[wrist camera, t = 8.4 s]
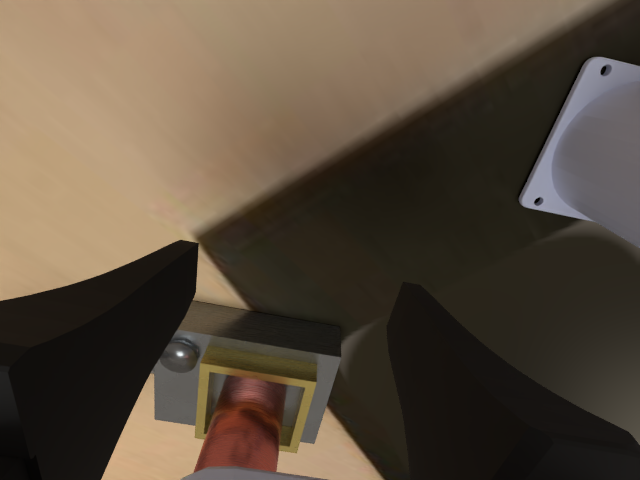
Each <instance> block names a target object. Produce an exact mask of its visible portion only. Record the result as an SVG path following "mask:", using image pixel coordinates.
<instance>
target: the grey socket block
mask: <svg viewBox="0 0 640 480" xmlns="http://www.w3.org/2000/svg"><path fill="white" fill-rule="evenodd" d="M340 360H341V340H340V327H338V326H332V325H326V324H321V323H315V322H309V321H304V320H298V319H293V318H287V317H281V316H276V315H270V314H264V313H259V312H253V311H247V310H242V309H236V308H230V307H225V306H219V305H214V304H208V303H202V302H197V301H192V302H191V305H190V307H189V309H188V311H187V314H186V316H185V318H184V319H183V321H182V323H181V324H180V326H179V328H178V329H177V331H176V333H175V334H174V336H173V337H172V339H171V341H170V342H169V344H168V345H167V347H166V349H165V350H164V352H163V354H162V355H161V357H160V358H159V360H158V362H157V363H156V365H155V366H154V368H153V370H152V371H151V373H152V374H154V388H155V420H161V421H168V422H174V423H181V424H188V425H194V426H196V427H195V438H198V439H205V437H206V434H207V431H208V428H209V425H210V422H211V419H212V416H213V413H214V410H215V407H216V404H217V401H218V398H219V395H220V392H221V390H222V387H223V384H224V381H225V380H226V378H227V377H228V376H229V375H232V376H238V377H244V378H250V379H256V380H262V381H269V382H275V383H281V384H284V386H285V389H286V400H285V408H284V415H283V423H282V431H281V439H280V447H279V451H285V452H291V453H297V450H298V447H299V443H300V442H306V443H312V444H314V443H315V440H316V437H317V434H318V430H319V427H320V424H321V421H322V418H323V414H324V411H325V408H326V405H327V402H328V398H329V395H330V392H331V389H332V386H333V382H334V379H335V376H336V373H337V370H338V366H339V363H340Z"/></svg>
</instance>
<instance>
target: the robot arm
mask: <svg viewBox="0 0 640 480" xmlns="http://www.w3.org/2000/svg"><path fill="white" fill-rule="evenodd" d="M603 66H606V71H605V73H604V74H603V75H601V73H600V71H601V69H602V67H603ZM538 197H540V200H539V201H538V202H537V203H534V201H535V199H536V198H538ZM519 203H520V204H521V205H522V206H524V207H526V208H531V209H536V210H540V211H545V212H550V213H555V214H560V215H564V216H569V217H574V218H579V219H583V220H588V221H593V222H597V223H598V224H600V225H602V226H603V227H605V228H607V229H608V230H610V231H612V232H613V233H615V234H617V235H618V236H620V237H622V238H623V239H625V240H627V241H629V242H630V243H632V244H633V245H635V246H637V247H639V248H640V66H637V65H633V64H629V63H625V62H620V61H616V60H612V59H608V58H604V57H592V58H590V59H588V60H587V61H586V62H585V63H584V65H583V66H582V68H581V70H580V72H579V74H578V77H577V79H576V81H575V83H574V85H573V87H572V89H571V91H570V93H569V95H568V97H567V99H566V101H565V103H564V105H563V108H562V110H561V112H560V114H559V116H558V118H557V120H556V122H555V124H554V126H553V128H552V130H551V132H550V134H549V137H548V139H547V141H546V143H545V145H544V147H543V149H542V151H541V153H540V155H539V157H538V159H537V161H536V163H535V165H534V168H533V170H532V172H531V174H530V176H529V178H528V180H527V182H526V184H525V186H524V188H523V190H522V192H521V194H520V197H519ZM198 245H199V243H195V242H189V241H184V240H179V241H176V242H174V243H172V244H170V245H168V246H165V247H163V248H161V249H159V250H157V251H155V252H153V253H151V254H149V255H147V256H144V257H142V258H140V259H138V260H136V261H134V262H131V263H129V264H126V265H124V266H122V267H119V268H117V269H114V270H112V271H110V272H107V273H104V274H102V275H99V276H96V277H93V278H90V279H87V280H84V281H81V282H78V283H75V284H72V285H68V286H65V287H61V288H57V289H53V290H49V291H45V292H41V293H37V294H33V295H28V296H24V297H19V298H14V299H8V300H3V301H0V480H101V478H102V476H103V474H104V472H105V469H106V467H107V465H108V462H109V460H110V458H111V455H112V453H113V451H114V449H115V446H116V444H117V442H118V439H119V437H120V435H121V433H122V431H123V429H124V426H125V424H126V422H127V420H128V418H129V416H130V413H131V411H132V409H133V407H134V405H135V403H136V401H137V399H138V397H139V395H140V392H141V390H142V388H143V386H144V384H145V382H146V380H147V379H148V377H149V375H150V373H151V371H152V370H153V368H154V366H155V365H156V363H157V362H158V360H159V358H160V357H161V355H162V354H163V352H164V350H165V349H166V347H167V345H168V344H169V342H170V341H171V339H172V337H173V336H174V334H175V333H176V331H177V329H178V328H179V326H180V324H181V323H182V321H183V319H184V318H185V316H186V314H187V311H188V309H189V307H190V305H191V302H192V300H193V298H194V295H195V293H196V279H197V262H198ZM387 339H388V351H389V356H390V361H391V365H392V370H393V374H394V378H395V382H396V387H397V391H398V396H399V400H400V404H401V409H402V414H403V419H404V425H405V434H406V442H407V450H408V460H409V471H410V480H640V445H639V444H638V442H637V441H636V440H635V439H634V437H633V436H632V435H631V434H630V433H629V432H628V431H625V430H624V429H622V428H620V427H618V426H616V425H614V424H612V423H610V422H608V421H605V420H604V419H602V418H599V417H598V416H595V415H593V414H591V413H589V412H587V411H585V410H583V409H582V408H579V407H578V406H576V405H574V404H572V403H571V402H569V401H567V400H565V399H564V398H562V397H560V396H558V395H557V394H555V393H553V392H551V391H550V390H548V389H546V388H545V387H543V386H542V385H540V384H538V383H537V382H535V381H534V380H532V379H531V378H529V377H528V376H526V375H524V374H523V373H522V372H520V371H518V370H517V369H516V368H514V367H513V366H511V365H510V364H508V363H507V362H506V361H505V360H503V359H502V358H500V357H499V356H498V355H497V354H495V353H494V352H493V351H491V350H490V349H489V348H488V347H486V346H485V345H484V344H482V343H481V342H480V341H479V340H478V339H477V338H476V337H475V336H473V335H472V334H471V333H470V332H469V331H468V330H467V329H466V328H464V327H463V326H462V325H461V324H460V323H459V322H458V321H457V320H456V319H455V318H454V317H453V316H452V315H450V313H449V312H448V311H447V310H446V309H444V307H443V306H442V305H441V304H440V303H438V302H437V300H435V298H434V297H433V296H431V295H430V294H429V293H428V292H427V291H426V290H425V289H424V288H423V287H422V286H420V285H417V284H412V283H406V282H403V284H402V286H401V289H400V292H399V295H398V297H397V300H396V303H395V305H394V308H393V311H392V313H391V316H390V319H389V322H388V324H387ZM181 480H327V479H320V478H313V477H307V476H300V475H293V474H286V473H279V472H272V471H265V470H259V469H252V468H245V467H238V466H217V467H207V468H204V469H202V470H199V471H197V472H195V473H192V474H190V475H188V476H186V477H184V478H182V479H181Z"/></svg>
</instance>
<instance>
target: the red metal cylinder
mask: <svg viewBox="0 0 640 480" xmlns="http://www.w3.org/2000/svg"><path fill="white" fill-rule="evenodd" d="M285 400H286V389H285V386H284V384H281V383H275V382H269V381H262V380H256V379H250V378H244V377H238V376H232V375H229V376H228V377H227V378H226V380H225V381H224V384H223V387H222V390H221V392H220V395H219V398H218V401H217V404H216V407H215V410H214V413H213V416H212V419H211V422H210V425H209V428H208V431H207V434H206V437H205V440H204V443H203V446H202V449H201V452H200V455H199V458H198V461H197V464H196V467H195V470H194V473H195V472H197V471H199V470H202V469H204V468H207V467H217V466H238V467H245V468H252V469H259V470H265V471H272V472H276V470H277V462H278V455H279V447H280V439H281V431H282V423H283V415H284V408H285Z"/></svg>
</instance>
